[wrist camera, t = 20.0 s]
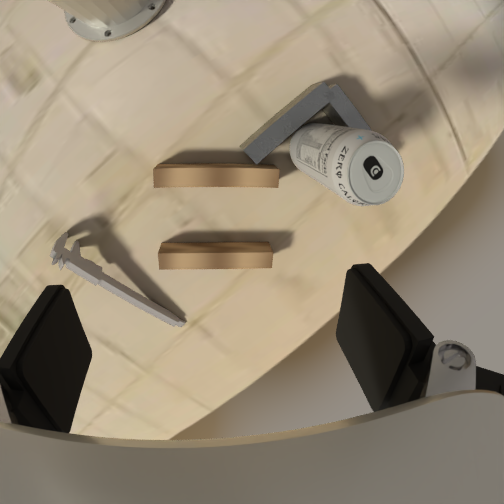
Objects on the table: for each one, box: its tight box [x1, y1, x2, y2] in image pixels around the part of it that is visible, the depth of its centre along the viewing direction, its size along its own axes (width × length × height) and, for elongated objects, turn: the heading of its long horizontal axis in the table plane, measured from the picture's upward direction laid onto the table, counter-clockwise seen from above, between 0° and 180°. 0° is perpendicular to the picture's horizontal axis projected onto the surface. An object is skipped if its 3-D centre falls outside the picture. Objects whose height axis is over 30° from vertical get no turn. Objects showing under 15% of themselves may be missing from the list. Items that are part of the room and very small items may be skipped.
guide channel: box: [153, 163, 280, 269], centre depth 34 cm, size 13×12×3 cm
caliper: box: [50, 232, 186, 327], centre depth 35 cm, size 20×1×6 cm, turn 45°
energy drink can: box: [289, 123, 404, 206], centre depth 27 cm, size 6×6×15 cm
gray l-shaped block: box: [240, 82, 372, 164], centre depth 31 cm, size 9×17×4 cm, turn 87°
